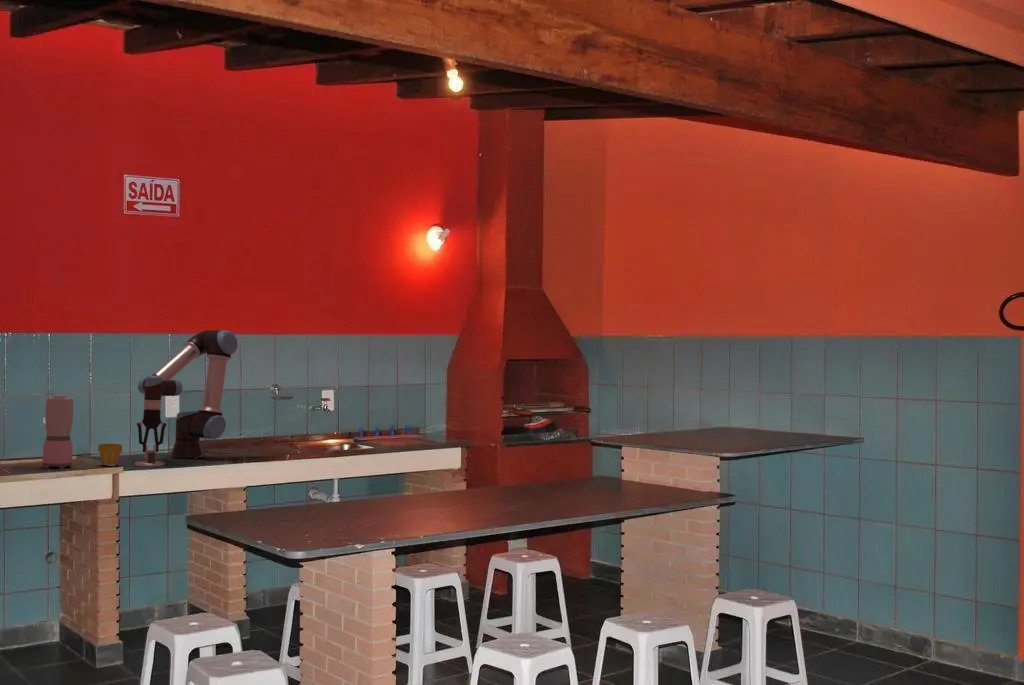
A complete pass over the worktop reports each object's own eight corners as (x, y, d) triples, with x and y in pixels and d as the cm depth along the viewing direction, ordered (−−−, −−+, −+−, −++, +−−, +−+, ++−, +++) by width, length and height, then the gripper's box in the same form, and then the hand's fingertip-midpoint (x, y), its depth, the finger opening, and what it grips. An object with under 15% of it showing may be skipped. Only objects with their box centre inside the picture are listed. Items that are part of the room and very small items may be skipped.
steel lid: (162, 463, 512) (162, 450, 513) (166, 466, 501) (167, 453, 501) (133, 463, 507) (133, 450, 507) (137, 466, 495) (137, 453, 495)
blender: (68, 469, 475) (71, 396, 475) (38, 468, 473) (41, 395, 473) (76, 465, 490) (79, 395, 491) (48, 464, 488) (51, 394, 489)
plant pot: (125, 465, 499) (126, 444, 499) (115, 467, 488) (116, 445, 488) (104, 464, 500) (104, 442, 500) (93, 466, 489) (94, 444, 489)
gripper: (135, 409, 497) (133, 460, 497) (171, 409, 504) (169, 459, 504) (133, 408, 504) (130, 458, 504) (168, 408, 511) (166, 458, 511)
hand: (150, 459), depth 504 cm, fingers closed on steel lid, 3 cm apart
